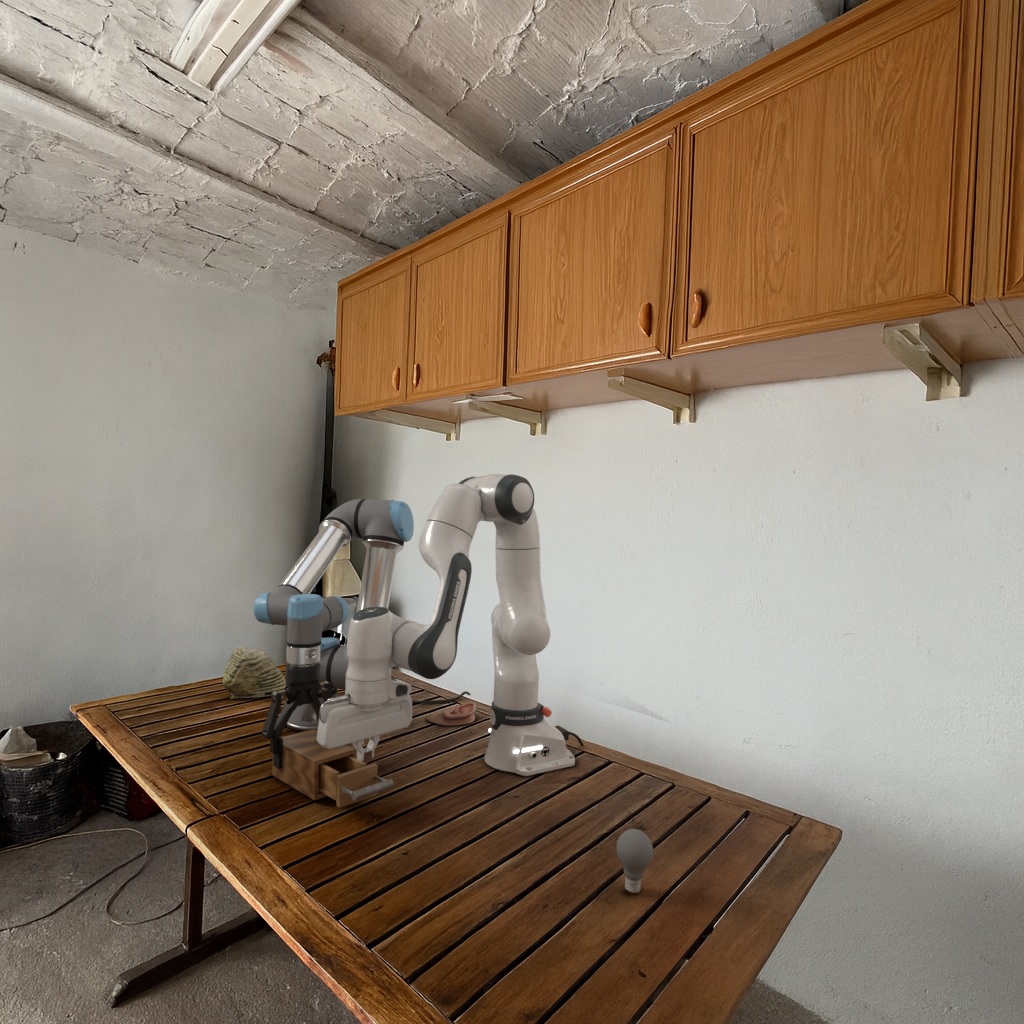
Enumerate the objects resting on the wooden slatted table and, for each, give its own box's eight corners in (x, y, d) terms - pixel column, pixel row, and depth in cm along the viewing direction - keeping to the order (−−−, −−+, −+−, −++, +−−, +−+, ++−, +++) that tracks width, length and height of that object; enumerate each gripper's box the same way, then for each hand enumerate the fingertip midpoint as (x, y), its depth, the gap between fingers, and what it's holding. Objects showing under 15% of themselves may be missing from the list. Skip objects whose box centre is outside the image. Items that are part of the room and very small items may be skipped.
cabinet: (356, 786, 137) (357, 748, 138) (314, 800, 130) (314, 761, 130) (313, 763, 150) (313, 729, 150) (272, 775, 143) (272, 739, 143)
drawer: (393, 802, 127) (393, 772, 127) (355, 817, 121) (355, 785, 121) (333, 771, 143) (333, 744, 143) (296, 782, 136) (296, 754, 137)
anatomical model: (423, 709, 179) (436, 697, 190) (423, 723, 179) (436, 710, 190) (469, 714, 176) (479, 702, 188) (468, 728, 177) (478, 715, 188)
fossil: (218, 695, 195) (220, 647, 195) (278, 685, 208) (279, 640, 207) (228, 703, 189) (230, 653, 188) (289, 692, 201) (290, 645, 201)
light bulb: (610, 879, 108) (613, 822, 108) (644, 879, 109) (647, 822, 109) (619, 902, 102) (622, 840, 102) (655, 901, 103) (658, 840, 103)
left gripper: (262, 675, 133) (258, 780, 134) (355, 658, 150) (352, 752, 150) (246, 667, 138) (243, 768, 139) (338, 652, 155) (335, 743, 155)
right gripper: (329, 704, 116) (326, 779, 117) (418, 684, 131) (415, 750, 131) (312, 696, 121) (309, 768, 121) (399, 677, 136) (397, 741, 136)
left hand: (300, 760), depth 144 cm, fingers closed on cabinet, 10 cm apart
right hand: (365, 758), depth 126 cm, fingers closed
